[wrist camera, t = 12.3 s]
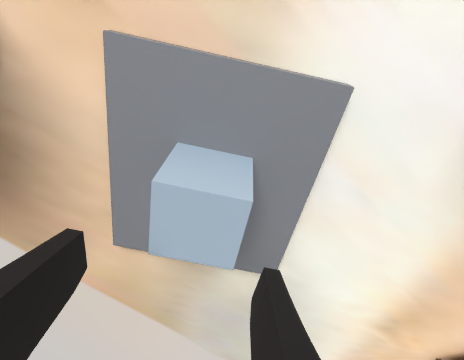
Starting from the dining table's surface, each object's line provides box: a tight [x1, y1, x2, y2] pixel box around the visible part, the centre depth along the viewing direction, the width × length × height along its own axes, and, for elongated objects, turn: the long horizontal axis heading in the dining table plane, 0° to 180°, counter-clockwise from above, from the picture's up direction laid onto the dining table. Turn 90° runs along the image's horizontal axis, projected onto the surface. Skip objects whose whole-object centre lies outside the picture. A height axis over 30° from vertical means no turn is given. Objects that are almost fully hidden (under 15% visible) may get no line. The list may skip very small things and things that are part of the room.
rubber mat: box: [103, 30, 354, 274], centre depth 18 cm, size 14×16×1 cm
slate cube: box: [148, 143, 253, 270], centre depth 16 cm, size 5×5×5 cm
